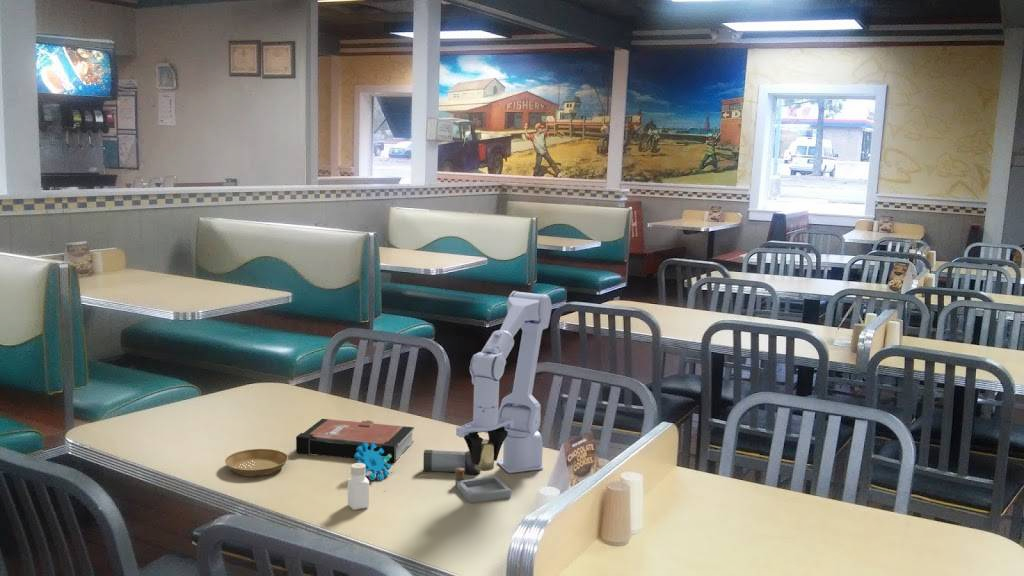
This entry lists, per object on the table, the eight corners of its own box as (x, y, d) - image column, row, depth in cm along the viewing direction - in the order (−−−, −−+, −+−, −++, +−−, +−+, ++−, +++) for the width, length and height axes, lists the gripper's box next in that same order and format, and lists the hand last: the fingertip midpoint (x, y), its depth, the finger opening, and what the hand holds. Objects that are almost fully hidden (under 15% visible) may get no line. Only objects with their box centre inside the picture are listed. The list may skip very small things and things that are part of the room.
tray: (496, 483, 210) (496, 475, 209) (510, 497, 201) (511, 490, 201) (456, 488, 206) (456, 480, 205) (470, 503, 198) (470, 495, 197)
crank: (481, 468, 218) (481, 450, 217) (479, 474, 214) (480, 456, 213) (424, 466, 218) (425, 448, 217) (422, 472, 214) (423, 454, 214)
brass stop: (490, 463, 205) (490, 438, 204) (496, 469, 201) (497, 444, 200) (472, 464, 204) (472, 440, 203) (478, 471, 200) (478, 446, 199)
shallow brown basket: (269, 454, 224) (268, 444, 224) (299, 470, 214) (299, 460, 214) (214, 467, 214) (214, 457, 214) (243, 485, 204) (243, 474, 203)
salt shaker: (352, 511, 191) (352, 469, 190) (346, 504, 195) (346, 463, 193) (369, 508, 193) (370, 467, 192) (364, 501, 197) (364, 461, 195)
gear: (367, 480, 205) (351, 443, 209) (353, 492, 207) (337, 456, 211) (402, 473, 213) (385, 438, 217) (388, 486, 216) (372, 450, 220)
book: (414, 442, 237) (414, 424, 236) (394, 465, 220) (394, 446, 219) (323, 433, 242) (323, 416, 241) (296, 455, 225) (296, 436, 224)
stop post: (462, 483, 209) (462, 467, 208) (465, 486, 207) (465, 470, 206) (453, 484, 208) (454, 468, 207) (456, 487, 206) (457, 471, 205)
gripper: (502, 395, 207) (500, 450, 210) (449, 404, 199) (448, 461, 201) (519, 403, 202) (517, 459, 204) (466, 412, 193) (464, 471, 196)
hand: (484, 461), depth 202 cm, fingers closed on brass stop, 4 cm apart
